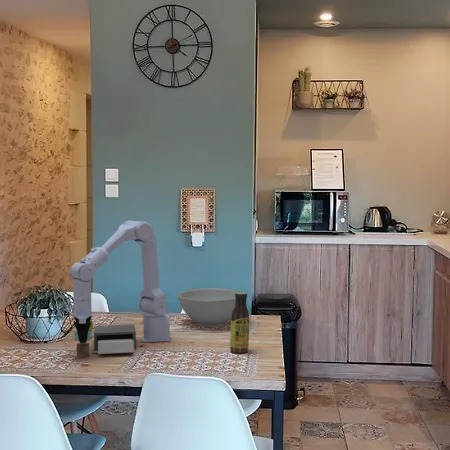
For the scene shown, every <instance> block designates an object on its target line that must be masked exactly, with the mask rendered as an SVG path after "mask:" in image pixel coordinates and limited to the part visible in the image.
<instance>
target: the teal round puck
mask: <svg viewBox="0 0 450 450" xmlns="http://www.w3.org/2000/svg"><path fill="white" fill-rule="evenodd" d="M73 334H74V335H73V337H74V341H77V342H79V338H78V333H77V331H75V332H74V333H73ZM92 339H93V331H92V332H91V331H88V337H87V341H91V340H92Z"/></svg>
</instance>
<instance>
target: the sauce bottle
mask: <svg viewBox="0 0 450 450" xmlns="http://www.w3.org/2000/svg"><path fill="white" fill-rule="evenodd" d="M235 297H236V301H235V308H234V309H233V311H232V315H231V316H232V318H231V320H230V338H229V339H230V340H229V346H230V347H229V349H230V352H232V353H234V354H244V353H247V352H248V351H249V345H250V343H249V342H250V320H251V319H250V313H249V310H248V306H247V305H248V304H247V298H248V293H247V292H245V291H244V292H243V291H241V292H236V293H235Z"/></svg>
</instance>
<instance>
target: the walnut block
mask: <svg viewBox="0 0 450 450" xmlns="http://www.w3.org/2000/svg"><path fill="white" fill-rule="evenodd" d="M89 357H90V343H89V342H86V343H80V342H79V343H76V358H89Z"/></svg>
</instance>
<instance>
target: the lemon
mask: <svg viewBox="0 0 450 450" xmlns="http://www.w3.org/2000/svg"><path fill="white" fill-rule="evenodd" d="M90 322H92V323H91V325H90V328H89V331H91V332H92V333H93V331H94V323H93V319H92V318H91V320H90Z"/></svg>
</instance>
